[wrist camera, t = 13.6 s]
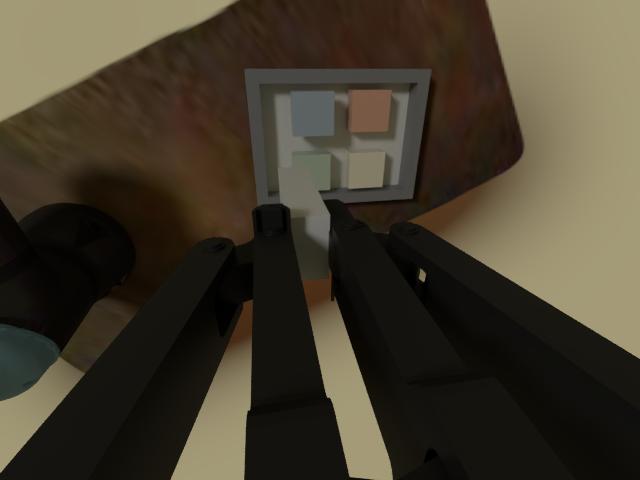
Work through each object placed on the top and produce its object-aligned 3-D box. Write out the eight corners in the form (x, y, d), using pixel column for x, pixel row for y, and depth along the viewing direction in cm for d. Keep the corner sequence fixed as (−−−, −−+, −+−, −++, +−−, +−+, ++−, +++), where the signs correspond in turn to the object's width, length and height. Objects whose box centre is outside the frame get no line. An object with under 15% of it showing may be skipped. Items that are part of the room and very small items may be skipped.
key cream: (344, 183, 49) (348, 188, 47) (345, 149, 46) (350, 153, 44) (376, 181, 50) (382, 186, 48) (379, 148, 47) (385, 151, 45)
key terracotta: (346, 129, 45) (351, 132, 43) (348, 89, 43) (353, 90, 41) (381, 128, 46) (387, 131, 44) (385, 88, 43) (391, 89, 41)
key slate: (291, 133, 42) (293, 136, 40) (290, 90, 40) (292, 91, 38) (329, 132, 43) (333, 135, 41) (330, 90, 41) (334, 91, 39)
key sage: (293, 186, 48) (294, 191, 46) (291, 151, 45) (293, 155, 43) (326, 184, 49) (330, 189, 46) (327, 150, 46) (330, 154, 44)
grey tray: (258, 201, 49) (258, 208, 46) (245, 68, 40) (244, 68, 38) (404, 192, 52) (412, 198, 50) (421, 69, 44) (431, 69, 41)
